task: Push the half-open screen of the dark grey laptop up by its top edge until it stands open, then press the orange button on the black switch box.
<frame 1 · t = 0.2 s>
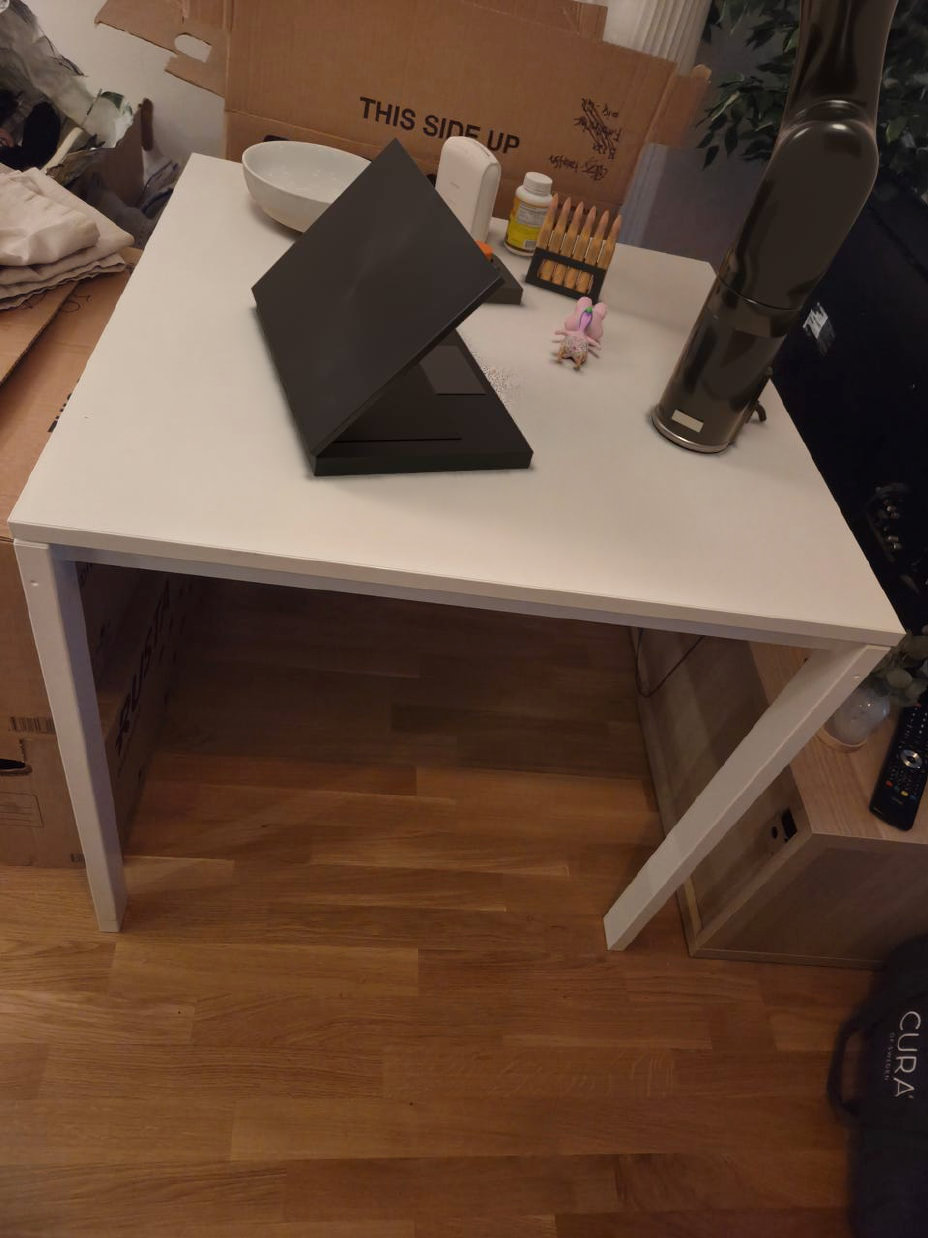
supplement bottle: (519, 250, 119), on the table
photo printer: (456, 234, 117), on the table
power button: (478, 253, 103), point 4 cm above the table, slide at 0.1 cm
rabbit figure: (577, 344, 101), on the table
laptop screen: (358, 286, 75), point 11 cm above the table, hinge at 50.0°
laptop: (384, 384, 84), on the table
switch box: (470, 286, 106), on the table
ammunition clip: (560, 293, 111), on the table
serving bowl: (319, 225, 109), on the table
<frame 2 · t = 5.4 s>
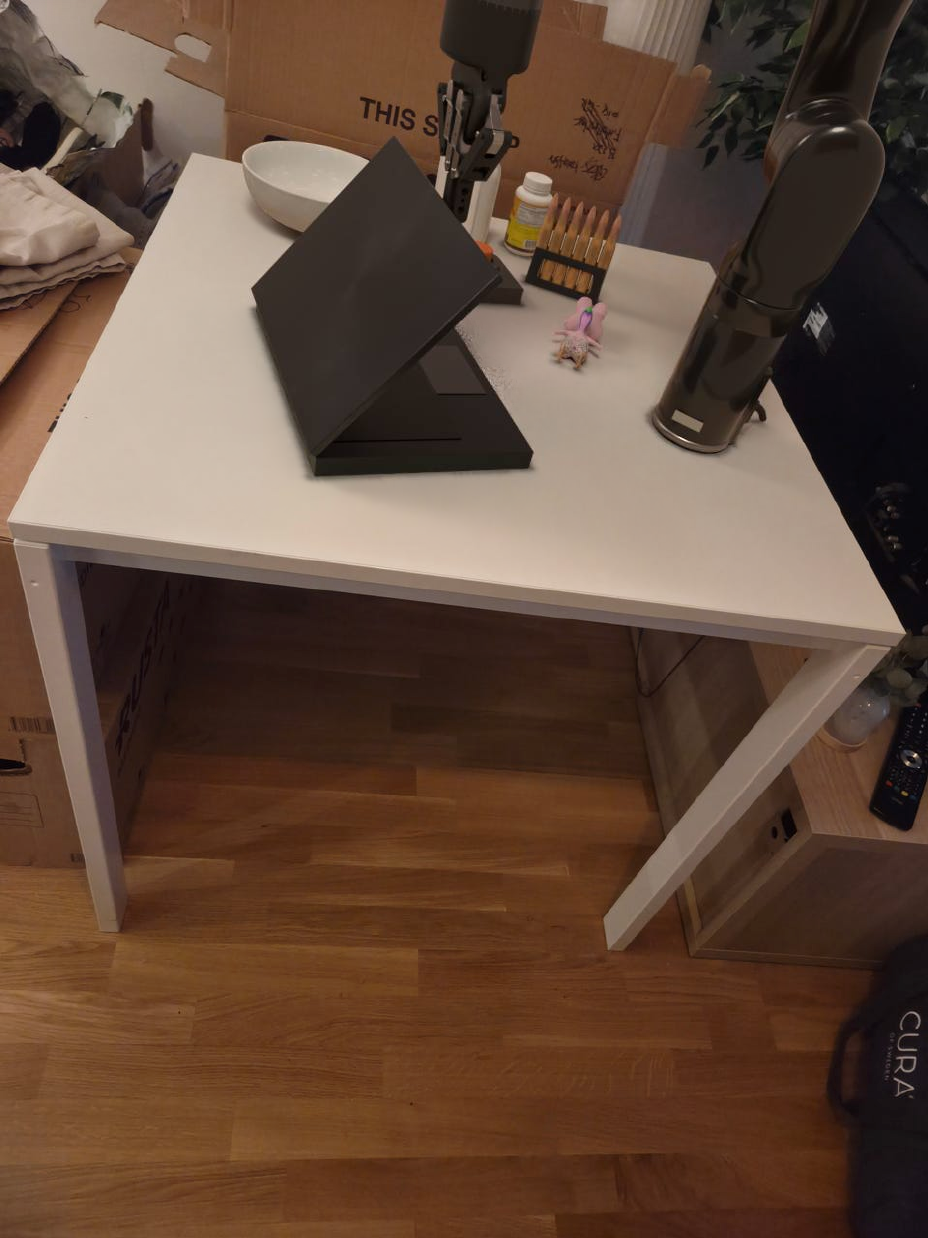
hand: (452, 218, 73), 18 cm above the table, tool pointing down, fingers closed
laptop screen: (357, 285, 75), point 11 cm above the table, hinge at 50.6°, touching gripper
everything else where it was.
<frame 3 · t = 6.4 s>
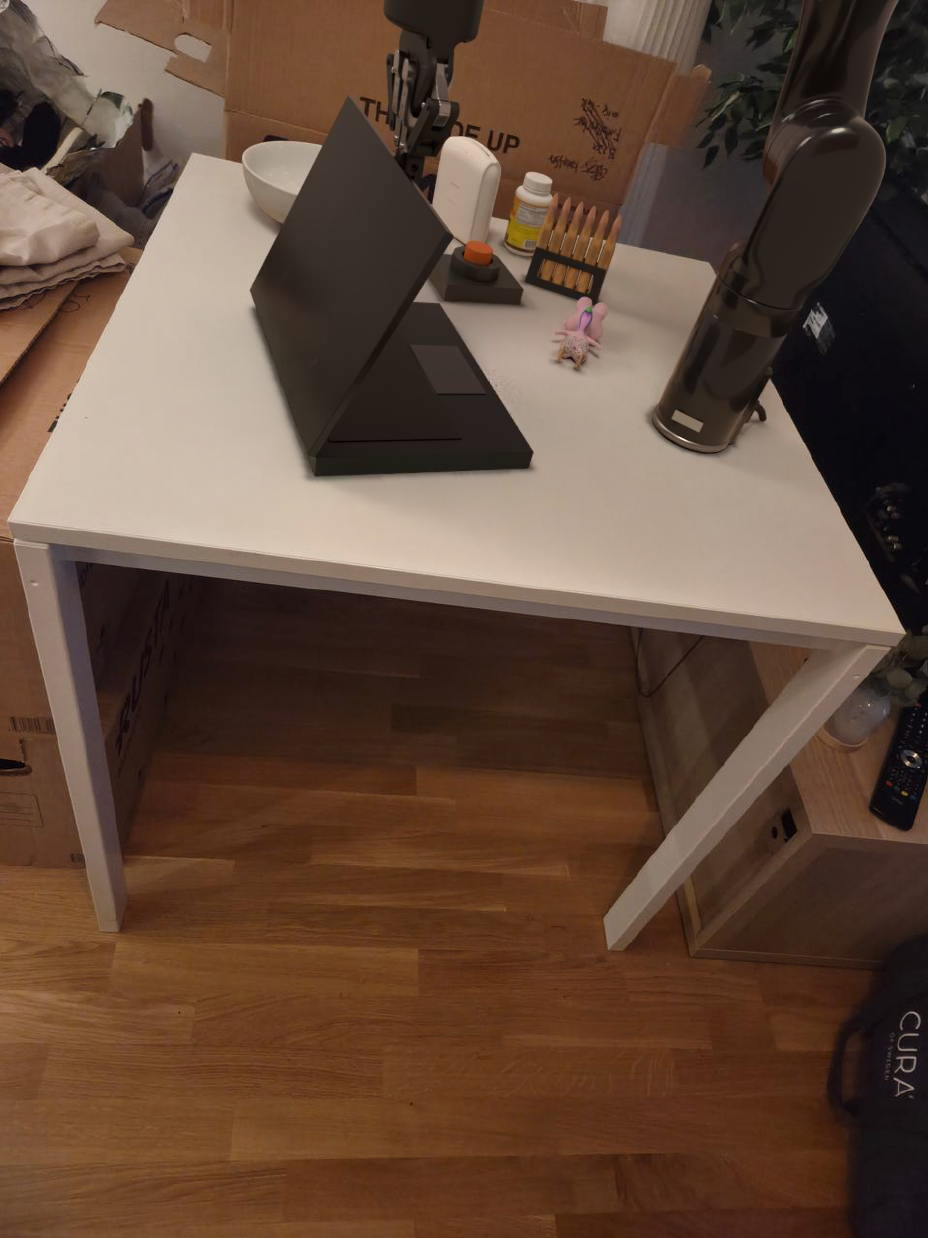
hand: (403, 197, 70), 19 cm above the table, tool pointing down, fingers closed
laptop screen: (332, 268, 73), point 12 cm above the table, hinge at 66.2°, touching gripper
everything else where it was.
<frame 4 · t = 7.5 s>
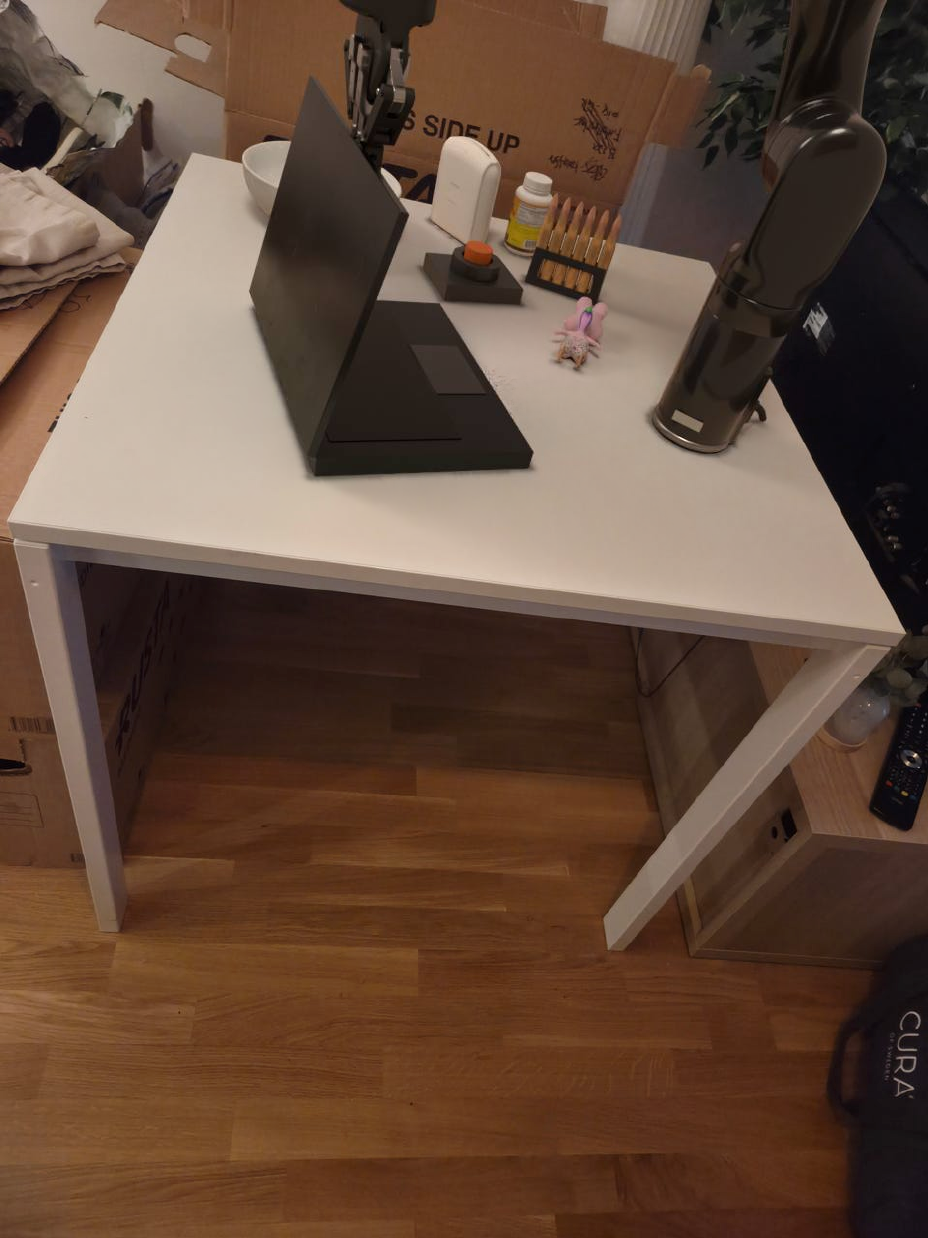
hand: (363, 187, 69), 20 cm above the table, tool pointing down, fingers closed
laptop screen: (312, 261, 72), point 13 cm above the table, hinge at 76.5°, touching gripper
everything else where it was.
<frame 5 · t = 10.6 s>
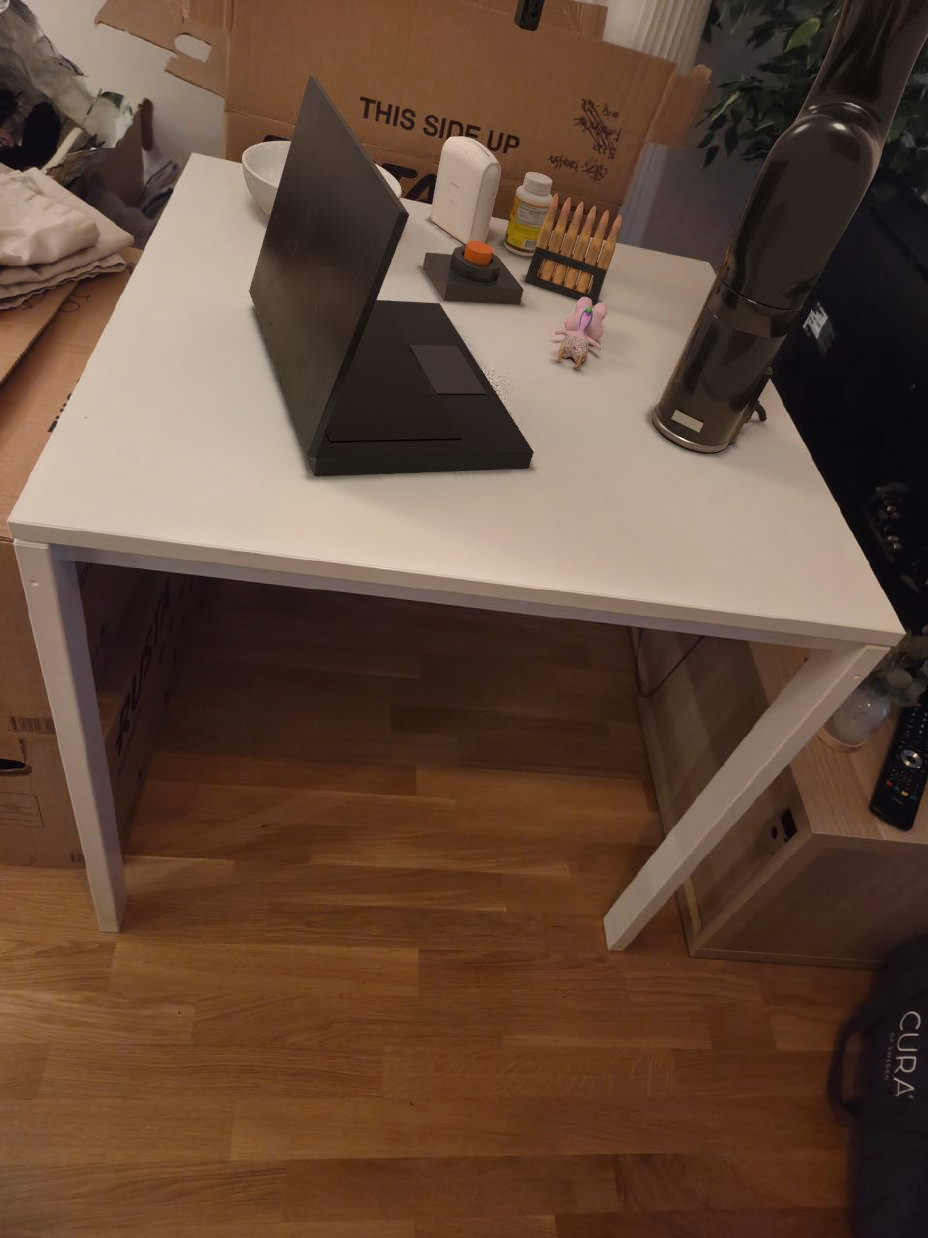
hand: (524, 27, 81), 30 cm above the table, tool pointing down, fingers closed
laptop screen: (312, 261, 72), point 13 cm above the table, hinge at 76.5°
everything else where it was.
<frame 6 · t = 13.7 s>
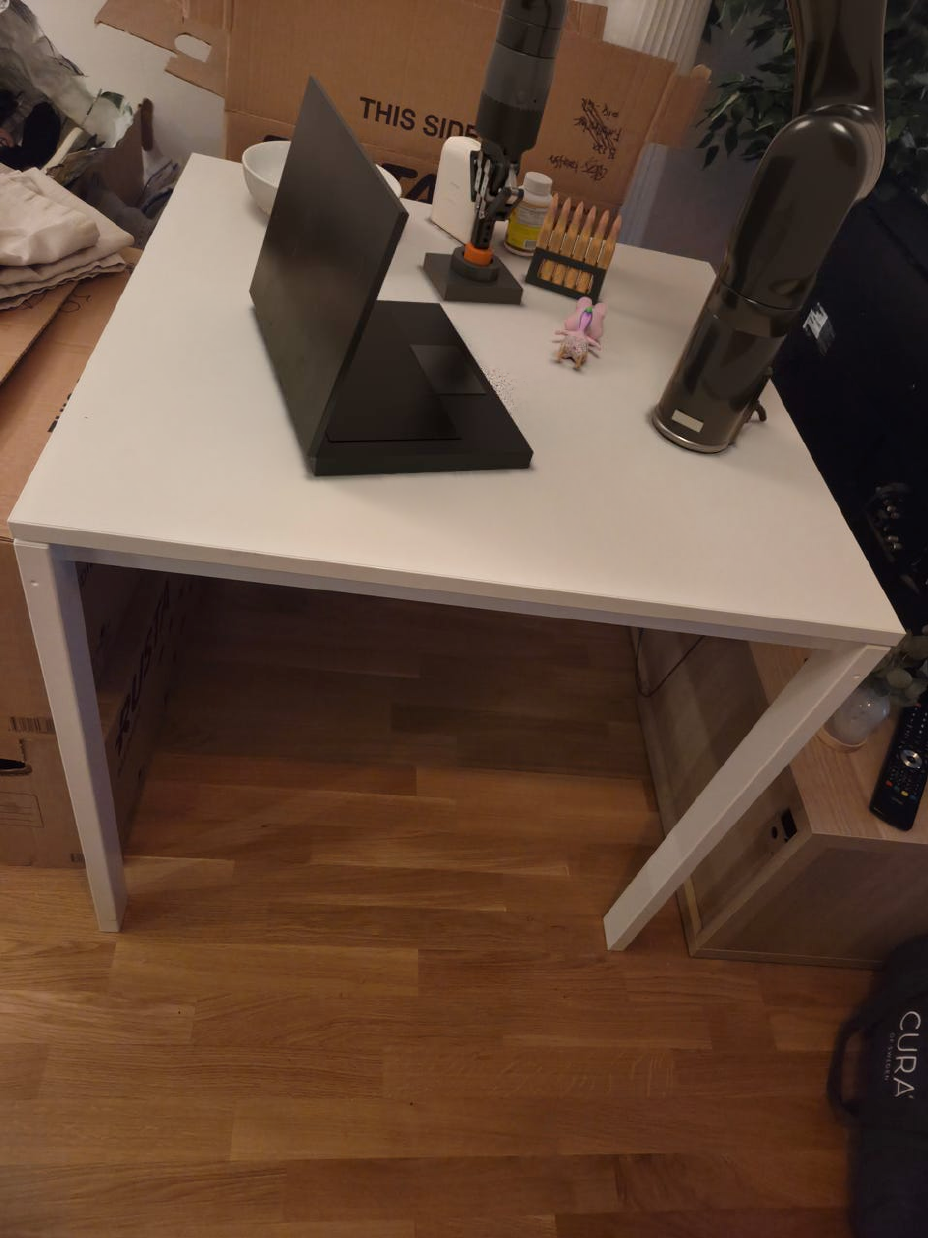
hand: (479, 246, 102), 5 cm above the table, tool pointing down, fingers closed
power button: (478, 253, 103), point 4 cm above the table, slide at 0.1 cm, touching gripper
everything else where it was.
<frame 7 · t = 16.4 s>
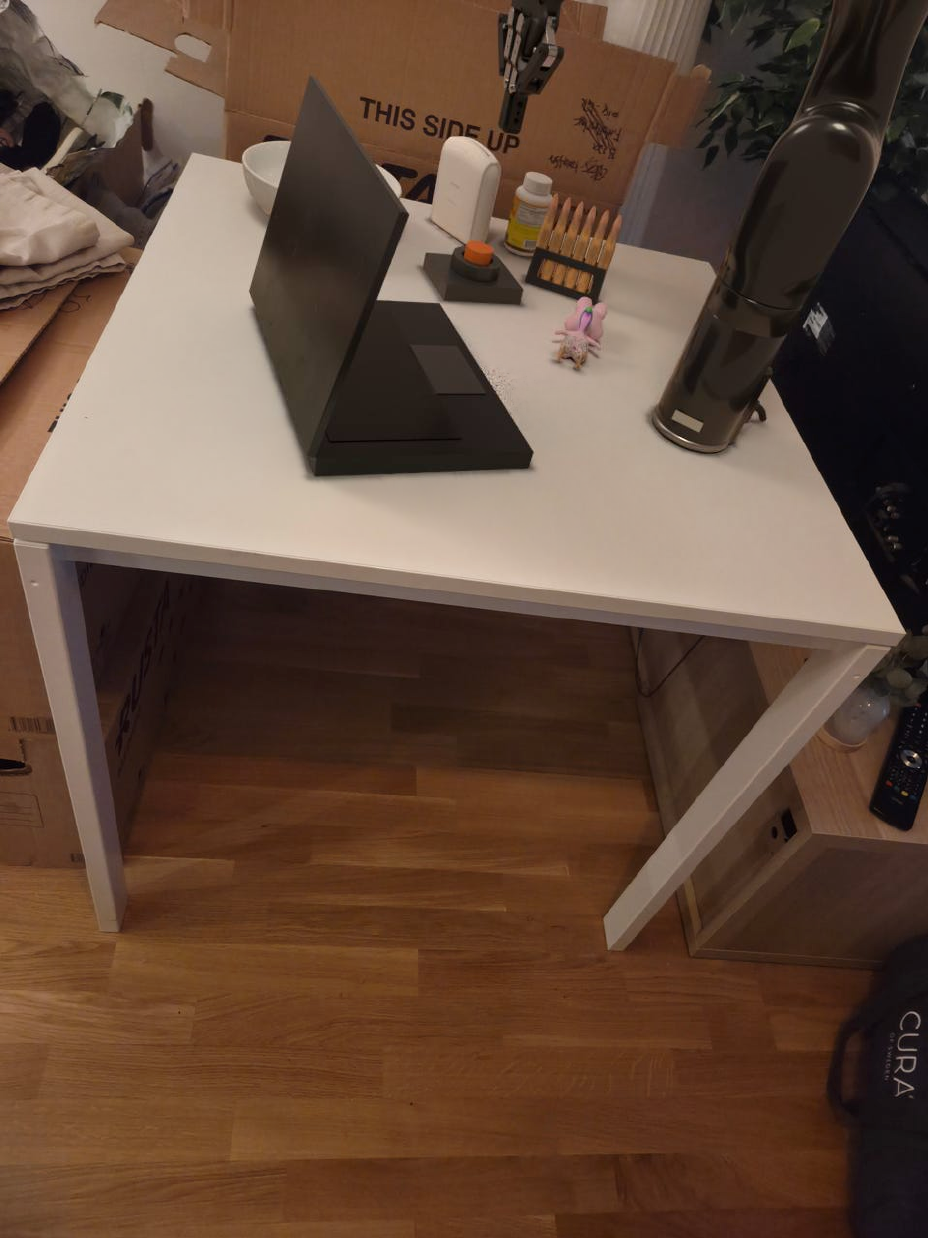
hand: (508, 130, 87), 20 cm above the table, tool pointing down, fingers closed
power button: (478, 253, 103), point 4 cm above the table, slide at 0.1 cm
everything else where it was.
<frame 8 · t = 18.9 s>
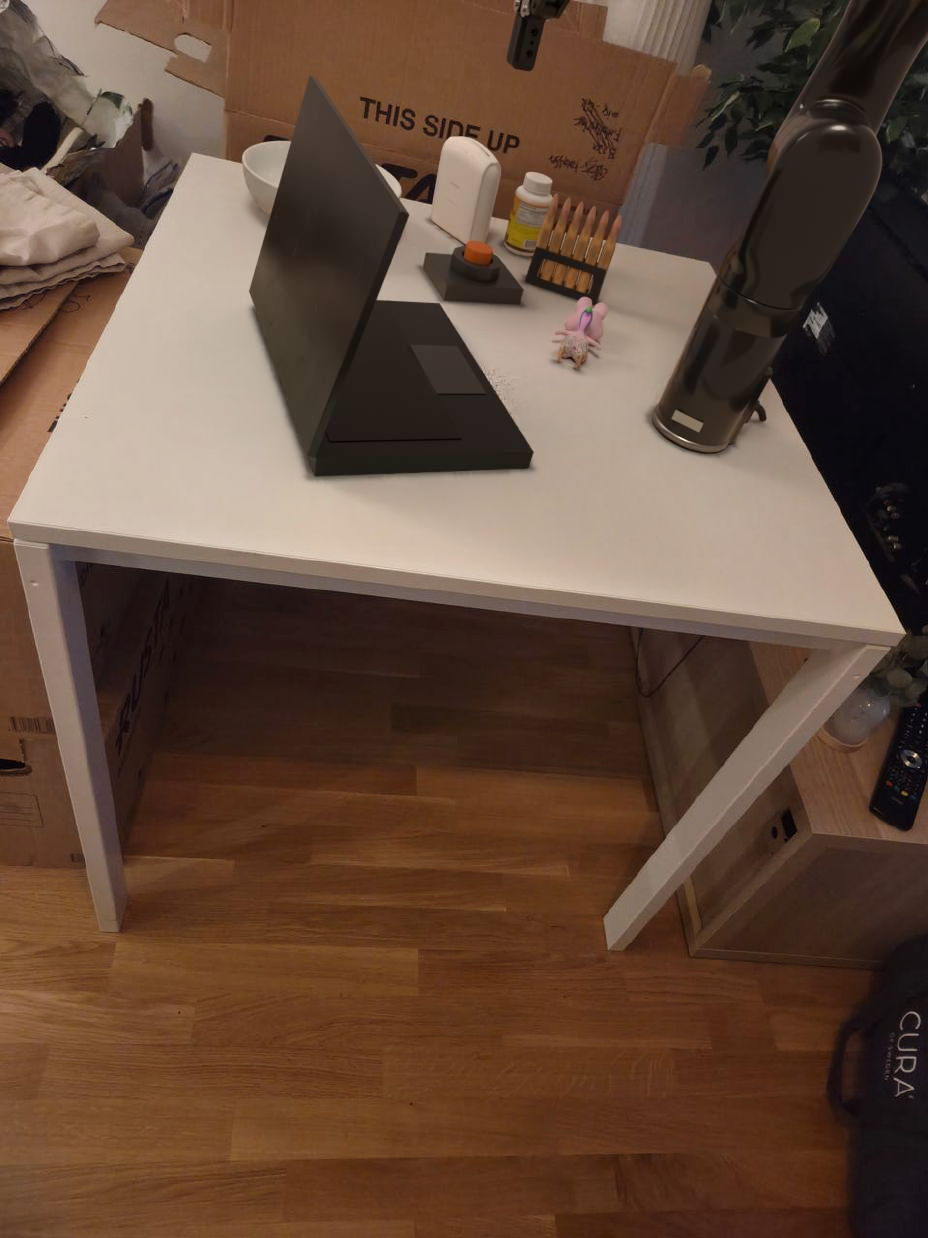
hand: (518, 66, 71), 29 cm above the table, tool pointing down, fingers closed
nothing on the table moved.
at the end: laptop screen at +76° (first picture: +50°); power button pushed in 1.1 cm at the most during the clip, back to where it started at the end; power button slide at 0.1 cm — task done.
